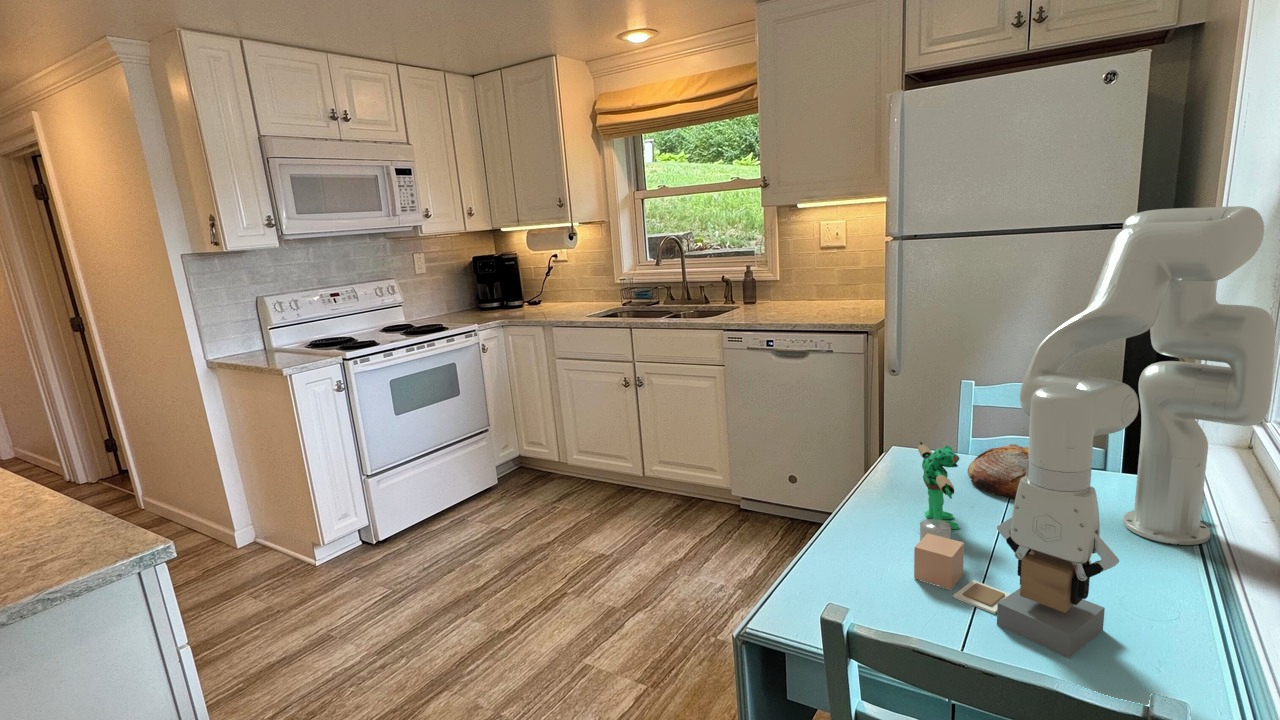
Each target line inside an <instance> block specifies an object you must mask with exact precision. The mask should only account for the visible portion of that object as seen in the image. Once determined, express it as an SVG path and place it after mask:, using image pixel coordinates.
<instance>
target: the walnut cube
mask: <svg viewBox="0 0 1280 720" xmlns="http://www.w3.org/2000/svg"><path fill="white" fill-rule="evenodd" d="M1074 576H1076V573H1075V570H1074V567H1073V565H1072V562H1069V561H1066V560H1062V559H1059V558H1056V557H1053V556H1050V555H1047V554H1043V553H1040V552H1037V551H1034V550H1032V551H1030V552H1029V553H1028V554H1027V555H1025V556H1024V557H1023V558H1022V564H1021V585H1020V584H1019V585H1020V587H1019V588H1020V596H1022V597H1024V598H1027V599H1030V600H1032V601H1035V602H1038V603H1040V604H1043V605H1046V606H1048V607H1051V608H1054V609H1056V610H1059V611H1062V612H1064V613H1066V612H1067V611H1068V610H1069V609H1070V608H1071V607H1072V606H1073V605H1074V604H1072V602H1071V587H1072V579H1073V577H1074Z"/></svg>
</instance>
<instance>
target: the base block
mask: <svg viewBox="0 0 1280 720" xmlns="http://www.w3.org/2000/svg"><path fill="white" fill-rule="evenodd" d="M1009 594H1010V595H1009V596H1007V597H1006V598H1004V599H1003V600H1001V601H1000V602H998V605H997V613H996V625H997V626H998V627H1001V628H1002V629H1005V630H1006V631H1009V632H1011V633H1013V634H1015V635H1017V636H1020V637H1022V638H1024V639H1026V640H1028V641H1031V642H1032V643H1035V644H1036V645H1039V646H1041V647H1043V648H1045V649H1047V650H1050V651H1052V652H1055V653H1056V654H1058V655H1060V656H1063V657H1064V658H1067V659H1071V657H1072V656H1075V654H1076V653H1078V652H1079V651H1080V650H1081V649H1082V648H1084V647H1085V646H1086V645H1087V644H1088V643H1090V642H1091V641H1092V640H1093V639H1094V638H1096V637H1097V636H1098V635H1099V634H1101V633H1102V632H1103V631H1104V623H1105V610H1106V608H1105V607H1104V606H1101V605H1099V604H1097V603H1094V602H1091V601H1088V600H1086V599H1082V600H1081V601H1080V602H1079V603H1078V604H1077V605H1073V606H1072V607H1071V608H1070V609H1069V610H1068V611H1067V612H1066V613H1064V612H1062V611H1059V610H1056V609H1054V608H1051V607H1048V606H1046V605H1043V604H1040V603H1038V602H1035V601H1032V600H1030V599H1027V598H1024V597H1022V596H1020V587H1019V588H1018V589H1017V590H1015V591H1013V592H1012V593H1009Z"/></svg>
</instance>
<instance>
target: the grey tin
mask: <svg viewBox="0 0 1280 720" xmlns="http://www.w3.org/2000/svg"><path fill="white" fill-rule="evenodd" d="M945 521H946V520H945ZM945 521H942V520H938V519H934V518H926V519H922V520H921V521H920V522H919V542H920V541H921V540H922V539H923V537H924V536H925V535H926V534H927V533H928V534H932V535H936V536H940V537H944V538H948V539H952V538H951V537H952V536H951V535H952V533H951V532H952V529H951V526H950V524H949V523H947V522H945Z"/></svg>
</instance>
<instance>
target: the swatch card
mask: <svg viewBox="0 0 1280 720" xmlns="http://www.w3.org/2000/svg"><path fill="white" fill-rule="evenodd" d="M1010 594H1011V593H1009V592H1007V591H1003V590H1001V589H999V588H996V587H993V586H990V585H988V584H985V583H982V582H980V581H977V580H975V579H973V580H971V581H970V582H968V583H967V584H966V585H964V586H963V587H962V588H960V589H959V590H958V591H956V593H954V594H953V595H952V597H954V599H956V600H959V601H961V602H963V603H966V604H968V605H971V606H973V607H975V608H977V609H981V610H983V611H986V612H988V613H991V614H993V615H997V605H998V602H1000V601H1001V600H1003V599H1004V598H1006V597H1007V596H1009V595H1010Z"/></svg>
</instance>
